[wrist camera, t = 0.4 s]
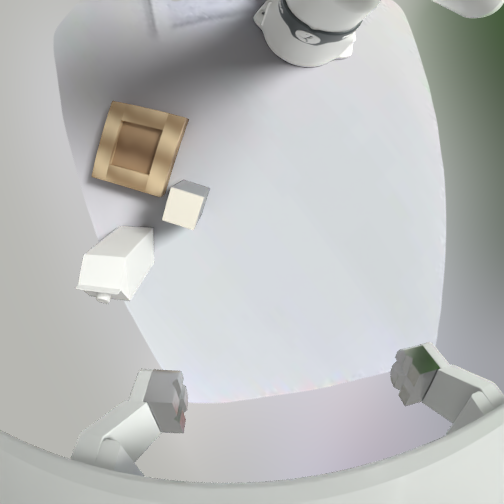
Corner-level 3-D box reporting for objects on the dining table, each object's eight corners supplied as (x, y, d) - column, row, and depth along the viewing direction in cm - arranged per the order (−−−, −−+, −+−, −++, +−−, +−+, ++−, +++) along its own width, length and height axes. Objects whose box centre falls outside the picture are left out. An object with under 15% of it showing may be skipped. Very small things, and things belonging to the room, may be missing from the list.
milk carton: (119, 225, 50) (70, 265, 33) (153, 227, 51) (114, 269, 33) (122, 260, 53) (79, 309, 35) (154, 262, 53) (121, 316, 36)
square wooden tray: (119, 103, 42) (112, 100, 39) (188, 119, 44) (185, 117, 41) (99, 174, 46) (91, 176, 43) (164, 194, 49) (160, 197, 46)
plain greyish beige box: (183, 179, 48) (170, 187, 39) (210, 188, 49) (203, 198, 40) (175, 206, 50) (161, 220, 40) (201, 214, 51) (193, 230, 41)
